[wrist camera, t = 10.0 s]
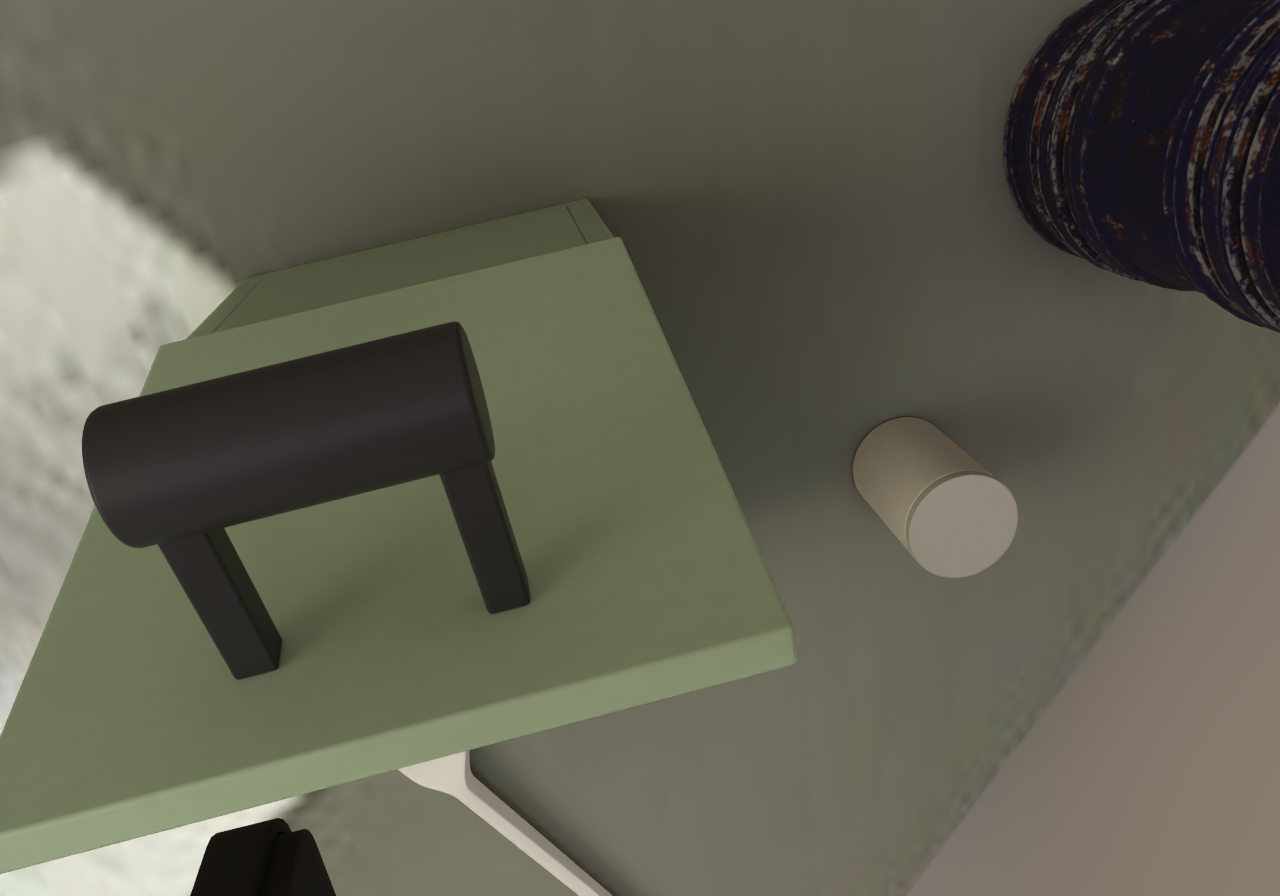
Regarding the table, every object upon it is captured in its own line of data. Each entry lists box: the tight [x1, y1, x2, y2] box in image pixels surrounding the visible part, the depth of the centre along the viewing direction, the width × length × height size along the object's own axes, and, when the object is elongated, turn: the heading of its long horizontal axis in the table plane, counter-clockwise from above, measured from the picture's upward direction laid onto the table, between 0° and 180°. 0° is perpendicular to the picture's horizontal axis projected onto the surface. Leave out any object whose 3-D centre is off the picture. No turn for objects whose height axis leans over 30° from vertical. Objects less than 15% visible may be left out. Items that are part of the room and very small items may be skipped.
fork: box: [398, 750, 612, 896], centre depth 45 cm, size 3×20×2 cm, turn 39°
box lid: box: [0, 237, 797, 874], centre depth 20 cm, size 15×12×6 cm
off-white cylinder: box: [853, 417, 1018, 578], centre depth 39 cm, size 4×4×6 cm
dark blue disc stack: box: [1004, 0, 1280, 333], centre depth 31 cm, size 10×10×15 cm
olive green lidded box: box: [186, 198, 614, 340], centre depth 35 cm, size 14×12×9 cm
